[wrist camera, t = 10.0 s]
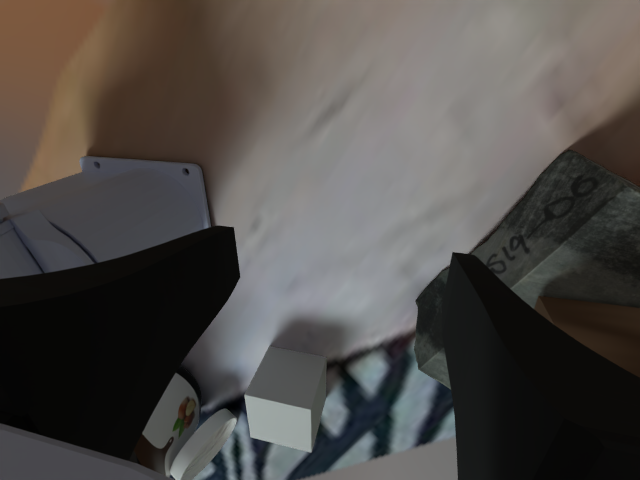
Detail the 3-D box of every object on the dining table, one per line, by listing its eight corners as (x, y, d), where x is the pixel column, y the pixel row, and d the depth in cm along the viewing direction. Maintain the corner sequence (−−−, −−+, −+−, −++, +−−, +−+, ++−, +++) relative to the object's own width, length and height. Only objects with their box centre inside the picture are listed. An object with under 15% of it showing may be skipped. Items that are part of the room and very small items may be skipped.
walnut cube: (511, 372, 18) (542, 468, 14) (538, 295, 16) (585, 382, 12) (621, 390, 17) (691, 501, 13) (666, 311, 15) (770, 413, 10)
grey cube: (273, 385, 31) (250, 437, 27) (269, 345, 29) (244, 394, 25) (326, 397, 30) (311, 452, 26) (326, 356, 28) (310, 410, 24)
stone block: (401, 312, 25) (397, 368, 20) (558, 133, 17) (607, 159, 13) (507, 374, 25) (526, 443, 20) (708, 222, 17) (808, 277, 13)
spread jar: (121, 341, 34) (-2, 459, 24) (223, 352, 31) (131, 492, 21) (160, 421, 39) (72, 545, 29) (249, 437, 36) (186, 581, 26)
